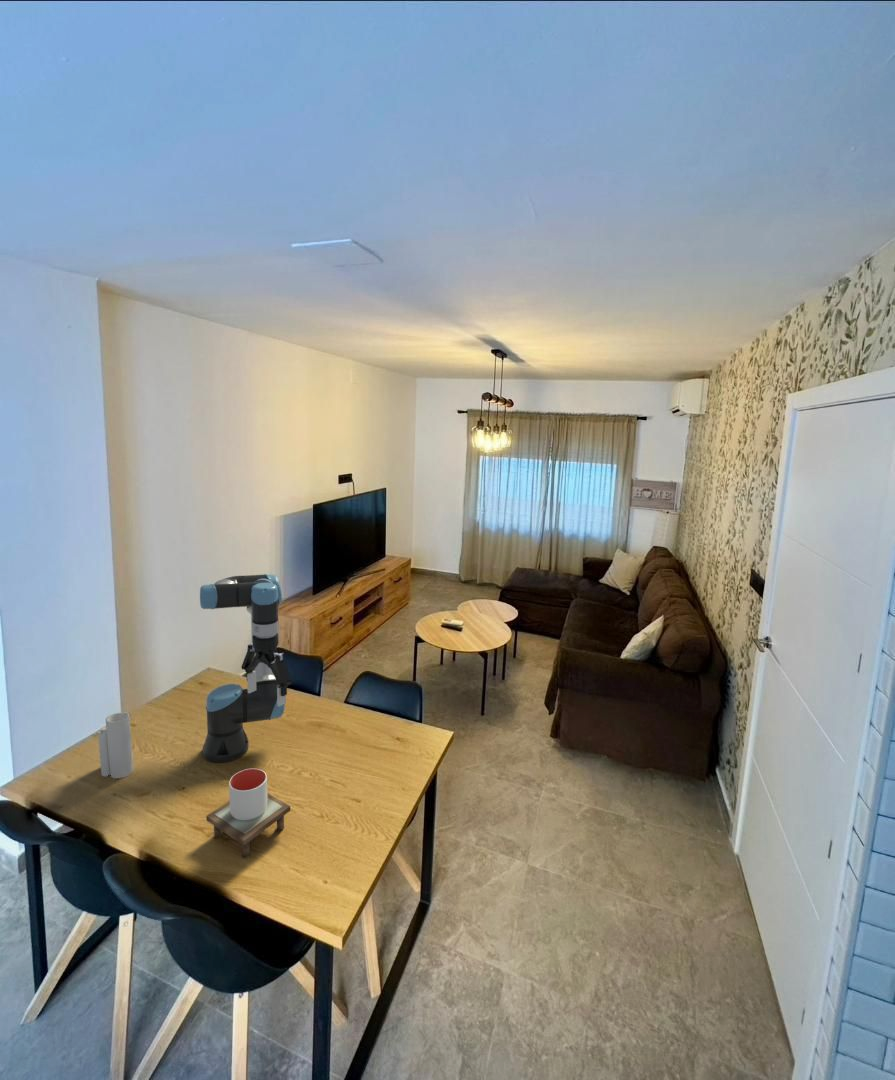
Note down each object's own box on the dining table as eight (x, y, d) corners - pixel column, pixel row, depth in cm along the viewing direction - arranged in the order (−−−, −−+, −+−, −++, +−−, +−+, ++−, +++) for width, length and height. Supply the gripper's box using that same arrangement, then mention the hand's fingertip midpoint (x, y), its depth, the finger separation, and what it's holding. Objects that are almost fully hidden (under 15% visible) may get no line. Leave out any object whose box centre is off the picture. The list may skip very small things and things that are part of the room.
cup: (271, 798, 156) (270, 768, 154) (262, 822, 146) (261, 791, 144) (236, 798, 155) (235, 768, 153) (225, 823, 145) (223, 791, 143)
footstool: (207, 837, 149) (206, 815, 148) (254, 805, 163) (253, 784, 161) (244, 863, 141) (243, 839, 140) (290, 827, 155) (290, 805, 153)
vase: (138, 768, 177) (134, 714, 173) (119, 781, 170) (114, 725, 166) (113, 760, 180) (108, 707, 176) (93, 772, 173) (88, 717, 169)
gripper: (228, 627, 163) (230, 690, 168) (284, 648, 151) (285, 715, 155) (248, 621, 170) (250, 682, 174) (304, 640, 157) (304, 705, 162)
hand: (266, 698), depth 165 cm, fingers open, 13 cm apart
